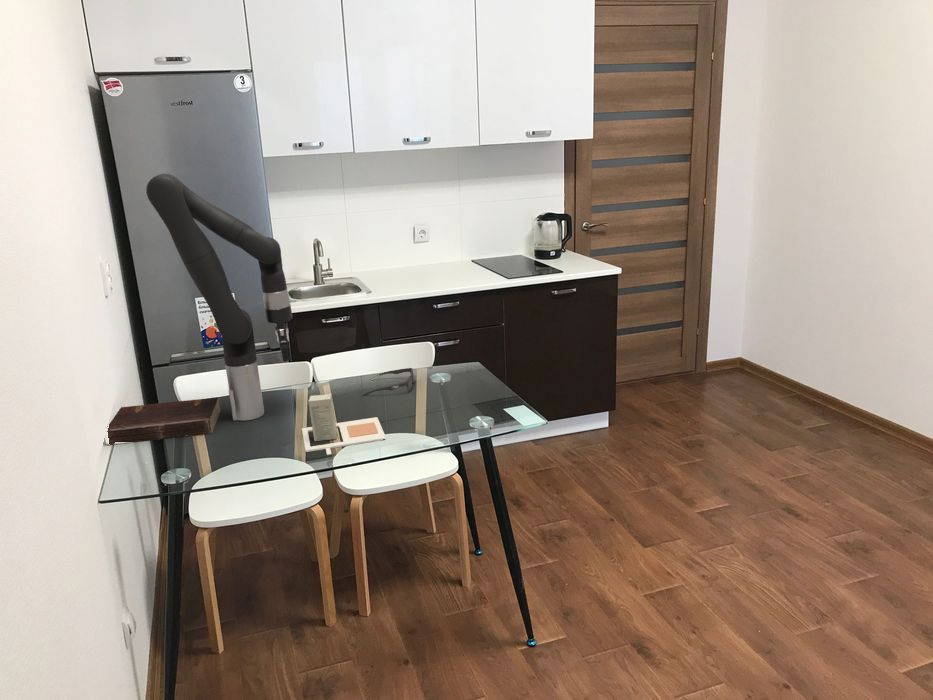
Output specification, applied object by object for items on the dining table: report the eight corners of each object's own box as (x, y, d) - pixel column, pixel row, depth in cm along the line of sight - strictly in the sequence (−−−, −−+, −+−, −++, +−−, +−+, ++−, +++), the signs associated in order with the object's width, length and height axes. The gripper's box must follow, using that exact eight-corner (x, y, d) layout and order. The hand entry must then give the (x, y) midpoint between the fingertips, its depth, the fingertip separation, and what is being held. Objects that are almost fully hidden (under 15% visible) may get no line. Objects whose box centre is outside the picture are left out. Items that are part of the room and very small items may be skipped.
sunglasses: (412, 395, 238) (410, 381, 237) (361, 403, 240) (358, 388, 238) (417, 378, 254) (414, 364, 253) (369, 385, 255) (366, 371, 254)
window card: (306, 458, 197) (306, 455, 197) (302, 429, 215) (301, 427, 215) (388, 445, 202) (388, 442, 202) (377, 418, 221) (377, 416, 220)
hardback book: (106, 447, 212) (103, 430, 211) (124, 422, 230) (120, 407, 228) (211, 435, 216) (209, 419, 215) (221, 412, 234) (218, 397, 233)
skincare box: (337, 433, 212) (333, 393, 208) (336, 439, 208) (331, 398, 204) (314, 435, 211) (309, 394, 208) (312, 441, 207) (307, 400, 204)
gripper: (264, 301, 227) (273, 352, 232) (264, 312, 214) (274, 365, 219) (289, 298, 229) (297, 348, 234) (291, 308, 216) (299, 361, 221)
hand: (286, 356), depth 227 cm, fingers open, 8 cm apart
